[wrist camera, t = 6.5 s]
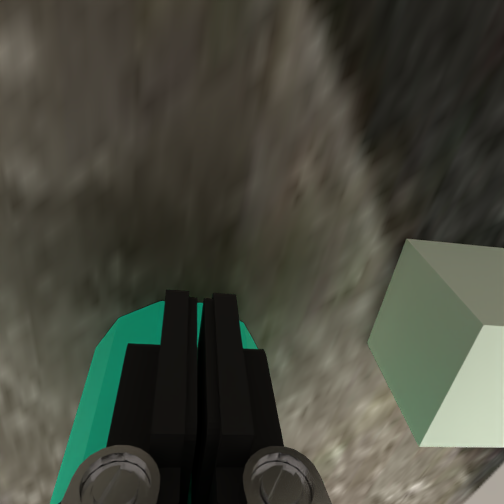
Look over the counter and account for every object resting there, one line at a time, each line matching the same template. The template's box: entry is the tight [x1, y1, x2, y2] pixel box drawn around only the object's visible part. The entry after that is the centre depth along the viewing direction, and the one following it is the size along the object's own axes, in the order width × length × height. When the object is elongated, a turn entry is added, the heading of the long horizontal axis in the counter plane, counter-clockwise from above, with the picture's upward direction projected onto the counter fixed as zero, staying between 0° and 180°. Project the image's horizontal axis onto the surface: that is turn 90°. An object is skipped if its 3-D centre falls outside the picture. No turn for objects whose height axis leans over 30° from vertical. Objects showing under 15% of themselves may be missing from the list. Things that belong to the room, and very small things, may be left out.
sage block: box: [367, 239, 504, 447], centre depth 14 cm, size 4×4×4 cm
